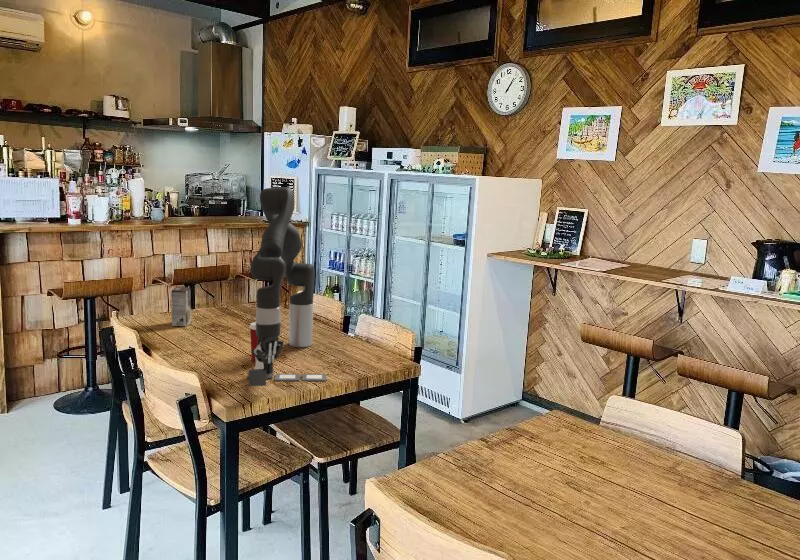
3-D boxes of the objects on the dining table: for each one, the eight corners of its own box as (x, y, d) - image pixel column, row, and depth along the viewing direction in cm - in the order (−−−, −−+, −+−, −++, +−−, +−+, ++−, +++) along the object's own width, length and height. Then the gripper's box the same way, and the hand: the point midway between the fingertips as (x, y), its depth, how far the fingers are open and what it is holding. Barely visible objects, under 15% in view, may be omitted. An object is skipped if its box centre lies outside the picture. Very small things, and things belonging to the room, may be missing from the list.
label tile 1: (276, 375, 208) (276, 373, 208) (299, 375, 209) (299, 373, 209) (274, 380, 202) (274, 379, 202) (299, 381, 204) (299, 379, 203)
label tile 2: (302, 375, 210) (302, 373, 209) (325, 375, 211) (326, 373, 211) (302, 381, 204) (302, 379, 204) (326, 381, 205) (326, 379, 205)
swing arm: (254, 363, 209) (254, 349, 208) (269, 363, 209) (269, 349, 209) (249, 385, 187) (249, 370, 186) (265, 385, 188) (265, 370, 187)
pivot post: (250, 371, 211) (250, 359, 210) (273, 371, 212) (274, 359, 211) (247, 378, 203) (247, 366, 203) (272, 378, 204) (272, 366, 204)
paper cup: (265, 364, 219) (265, 327, 216) (245, 362, 220) (245, 325, 218) (273, 358, 226) (274, 322, 224) (254, 356, 228) (254, 320, 225)
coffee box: (176, 321, 273) (176, 286, 270) (191, 322, 274) (191, 286, 271) (171, 326, 264) (170, 290, 261) (186, 327, 265) (186, 290, 262)
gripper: (272, 314, 197) (272, 365, 200) (244, 323, 186) (244, 377, 189) (291, 318, 194) (290, 370, 197) (263, 326, 182) (263, 381, 186)
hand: (268, 373), depth 193 cm, fingers closed
